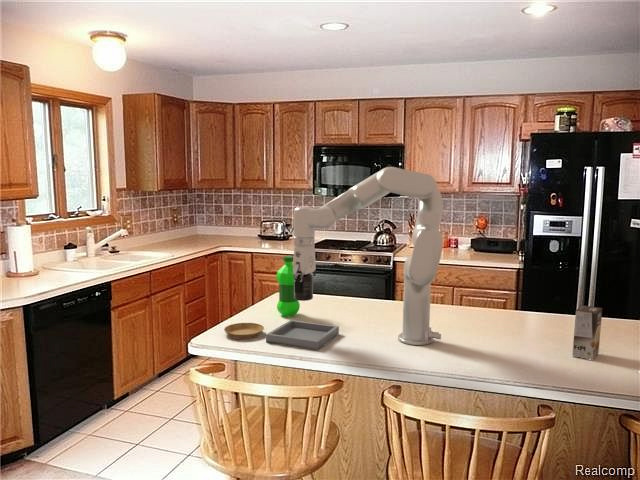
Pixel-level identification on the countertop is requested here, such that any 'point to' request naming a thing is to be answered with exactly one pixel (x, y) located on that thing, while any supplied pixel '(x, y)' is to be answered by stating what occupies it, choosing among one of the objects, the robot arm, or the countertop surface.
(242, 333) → the plant saucer
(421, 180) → the robot arm
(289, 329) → the tray
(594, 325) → the coffee box
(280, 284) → the plastic bottle
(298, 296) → the supplement bottle
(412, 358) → the countertop surface
